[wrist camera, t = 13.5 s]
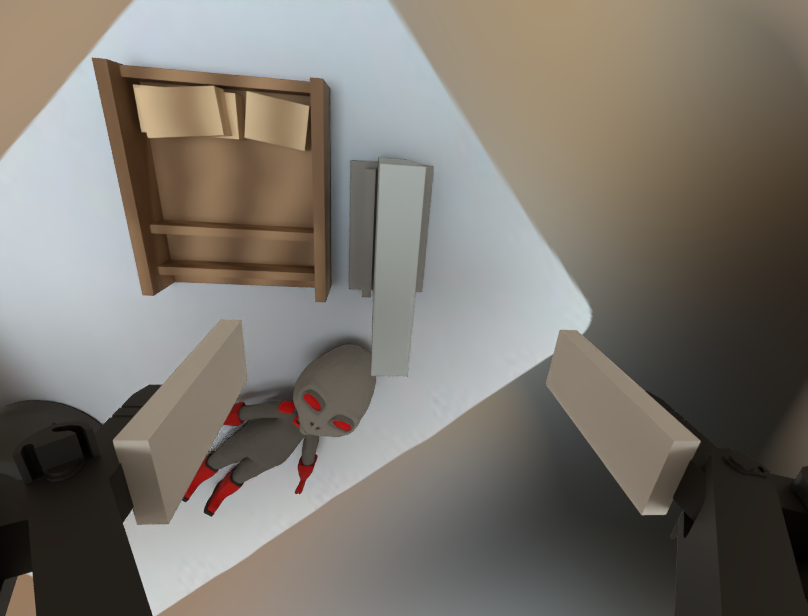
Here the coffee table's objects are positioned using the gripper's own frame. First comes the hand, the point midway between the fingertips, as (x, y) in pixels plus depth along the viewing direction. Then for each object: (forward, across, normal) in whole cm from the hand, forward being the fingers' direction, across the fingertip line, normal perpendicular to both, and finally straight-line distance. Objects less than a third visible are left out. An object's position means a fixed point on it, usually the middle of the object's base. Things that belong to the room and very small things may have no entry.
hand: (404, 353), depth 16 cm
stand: (+26, 0, 0) cm, 26 cm away
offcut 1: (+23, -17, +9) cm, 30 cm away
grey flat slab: (+25, 0, 0) cm, 25 cm away
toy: (+27, -12, -25) cm, 38 cm away
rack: (+26, -14, +3) cm, 30 cm away
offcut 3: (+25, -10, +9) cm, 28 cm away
